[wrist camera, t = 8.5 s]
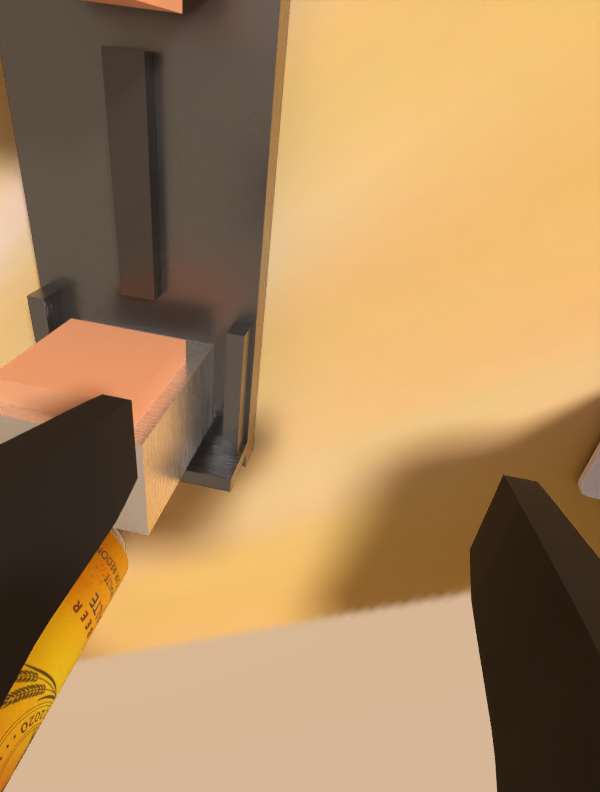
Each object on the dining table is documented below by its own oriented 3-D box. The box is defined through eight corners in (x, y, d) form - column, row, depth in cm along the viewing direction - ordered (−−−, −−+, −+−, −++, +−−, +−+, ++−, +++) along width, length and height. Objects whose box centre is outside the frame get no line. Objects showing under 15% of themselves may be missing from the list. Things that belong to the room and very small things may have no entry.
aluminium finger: (212, 422, 20) (148, 536, 15) (93, 398, 21) (-7, 500, 16) (214, 324, 18) (140, 420, 13) (80, 299, 18) (-42, 382, 13)
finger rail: (-34, -349, 11) (-529, -833, 5) (317, -324, 11) (202, -845, 5) (80, 413, 23) (-37, 533, 17) (252, 448, 22) (195, 587, 16)
